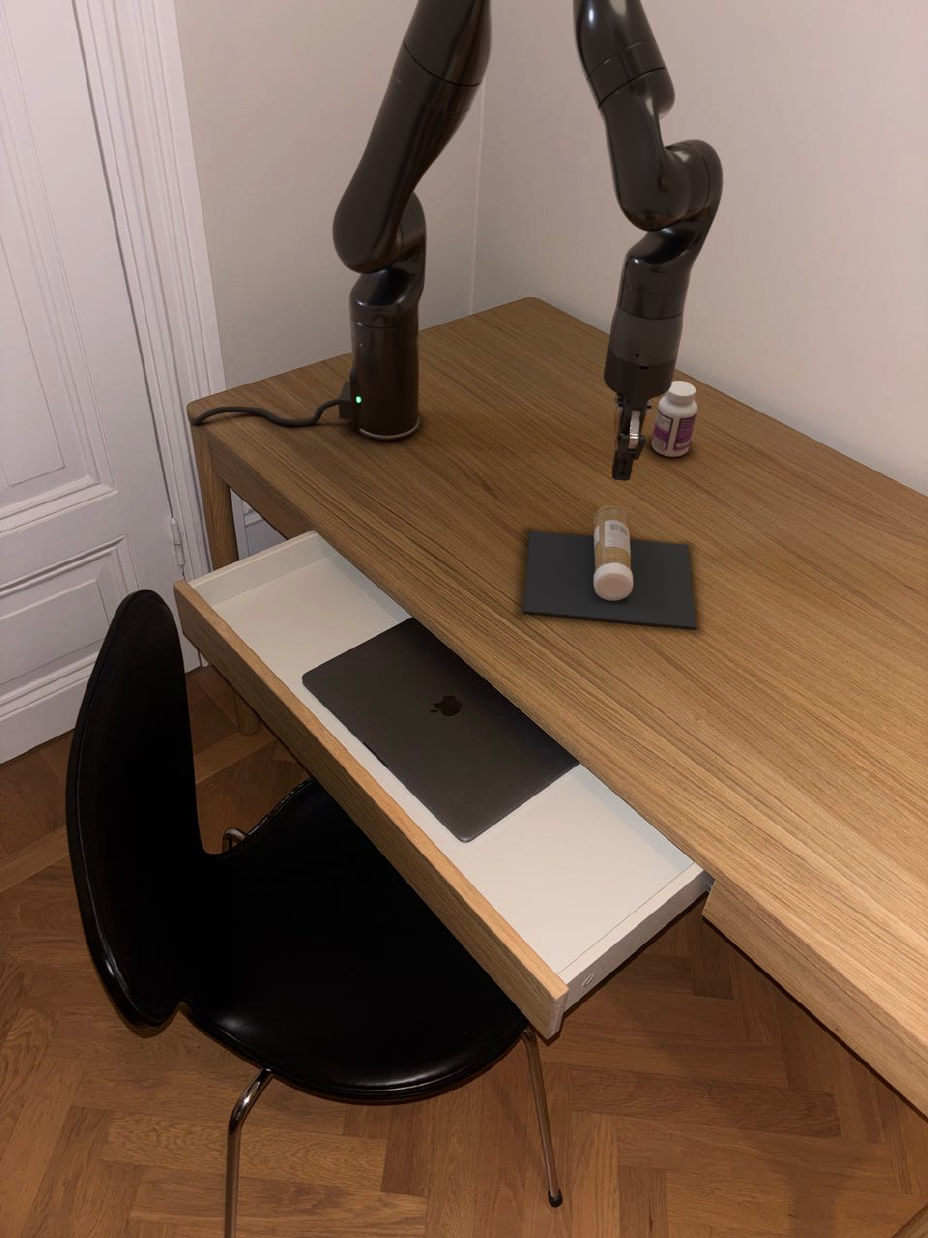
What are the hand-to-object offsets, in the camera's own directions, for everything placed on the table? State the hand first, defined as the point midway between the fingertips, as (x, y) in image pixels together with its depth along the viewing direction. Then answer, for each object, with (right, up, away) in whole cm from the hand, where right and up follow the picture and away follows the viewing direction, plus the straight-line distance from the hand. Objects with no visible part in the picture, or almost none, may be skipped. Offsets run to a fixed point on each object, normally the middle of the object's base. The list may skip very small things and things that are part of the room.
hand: (620, 476), depth 114 cm
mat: (-1, -12, +1) cm, 12 cm away
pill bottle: (+11, +7, +22) cm, 26 cm away
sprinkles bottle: (0, -4, +6) cm, 7 cm away
